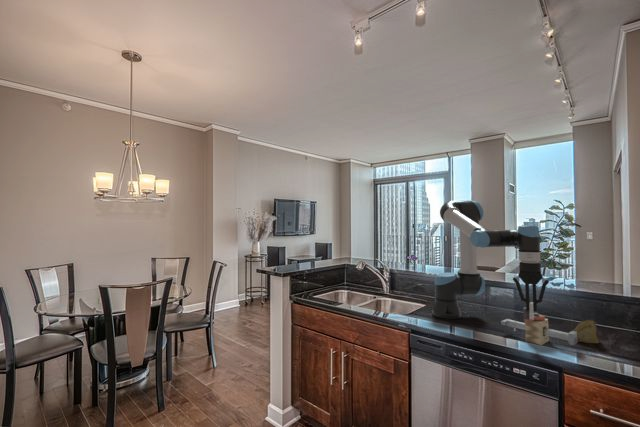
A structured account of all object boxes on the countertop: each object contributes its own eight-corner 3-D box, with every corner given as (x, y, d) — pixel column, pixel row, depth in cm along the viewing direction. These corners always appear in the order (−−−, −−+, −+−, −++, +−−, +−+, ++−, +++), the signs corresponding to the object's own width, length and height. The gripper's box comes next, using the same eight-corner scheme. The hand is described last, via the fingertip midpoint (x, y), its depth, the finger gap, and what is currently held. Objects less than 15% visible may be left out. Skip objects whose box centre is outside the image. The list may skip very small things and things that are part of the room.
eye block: (525, 340, 137) (524, 319, 137) (533, 336, 142) (532, 315, 142) (541, 345, 132) (540, 322, 132) (548, 340, 137) (548, 319, 137)
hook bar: (501, 327, 146) (501, 318, 147) (507, 325, 150) (507, 315, 150) (572, 345, 124) (572, 334, 124) (578, 342, 128) (577, 331, 128)
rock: (566, 336, 135) (596, 339, 128) (565, 317, 140) (594, 319, 133) (572, 346, 141) (601, 349, 134) (571, 328, 145) (599, 330, 138)
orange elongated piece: (532, 315, 141) (532, 303, 141) (547, 319, 136) (547, 306, 136) (517, 319, 135) (517, 306, 136) (532, 323, 130) (532, 310, 130)
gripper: (511, 261, 133) (513, 318, 131) (548, 263, 125) (551, 323, 124) (512, 260, 139) (514, 314, 138) (548, 262, 131) (550, 318, 130)
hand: (531, 318), depth 131 cm, fingers closed
